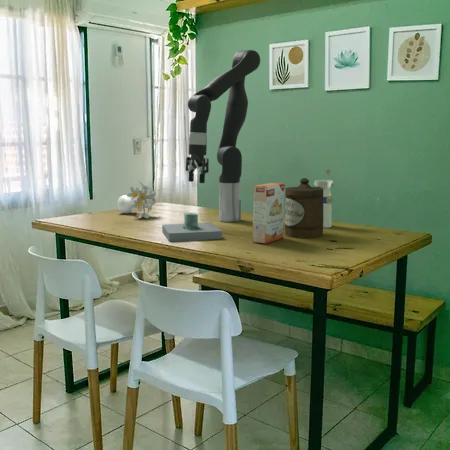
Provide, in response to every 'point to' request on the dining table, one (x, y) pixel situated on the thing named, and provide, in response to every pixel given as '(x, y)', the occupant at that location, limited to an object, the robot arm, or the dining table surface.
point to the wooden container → (304, 211)
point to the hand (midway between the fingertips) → (196, 182)
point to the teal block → (190, 221)
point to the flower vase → (137, 200)
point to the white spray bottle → (326, 199)
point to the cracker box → (268, 212)
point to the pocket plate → (191, 232)
